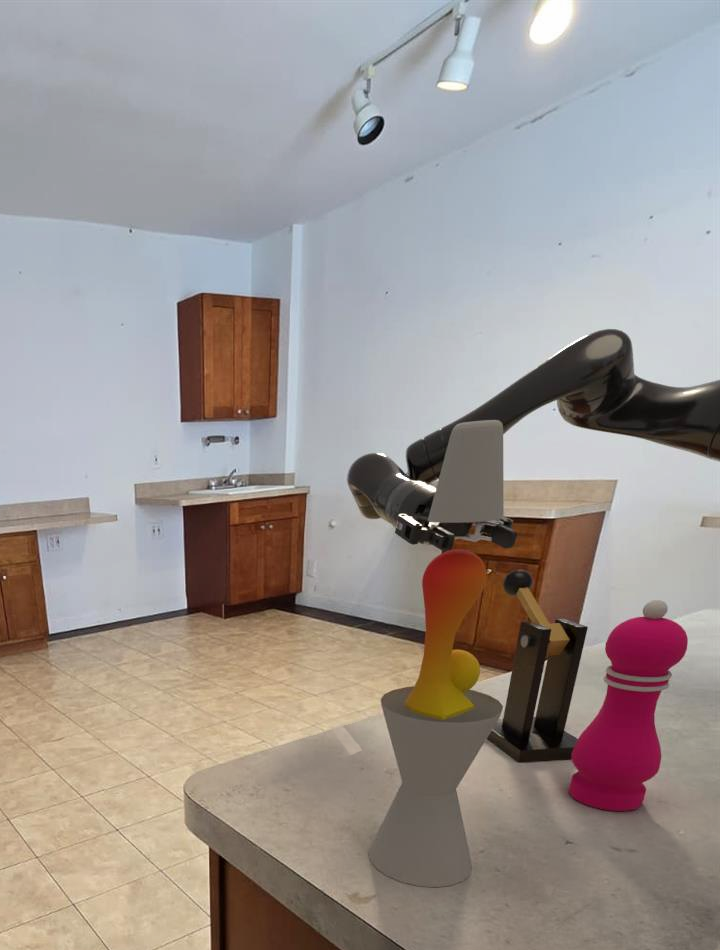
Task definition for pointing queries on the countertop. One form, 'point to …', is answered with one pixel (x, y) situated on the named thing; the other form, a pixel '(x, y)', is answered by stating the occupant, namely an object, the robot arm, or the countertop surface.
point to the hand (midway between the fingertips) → (482, 542)
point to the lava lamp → (443, 682)
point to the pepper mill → (628, 713)
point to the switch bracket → (546, 730)
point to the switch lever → (534, 609)
